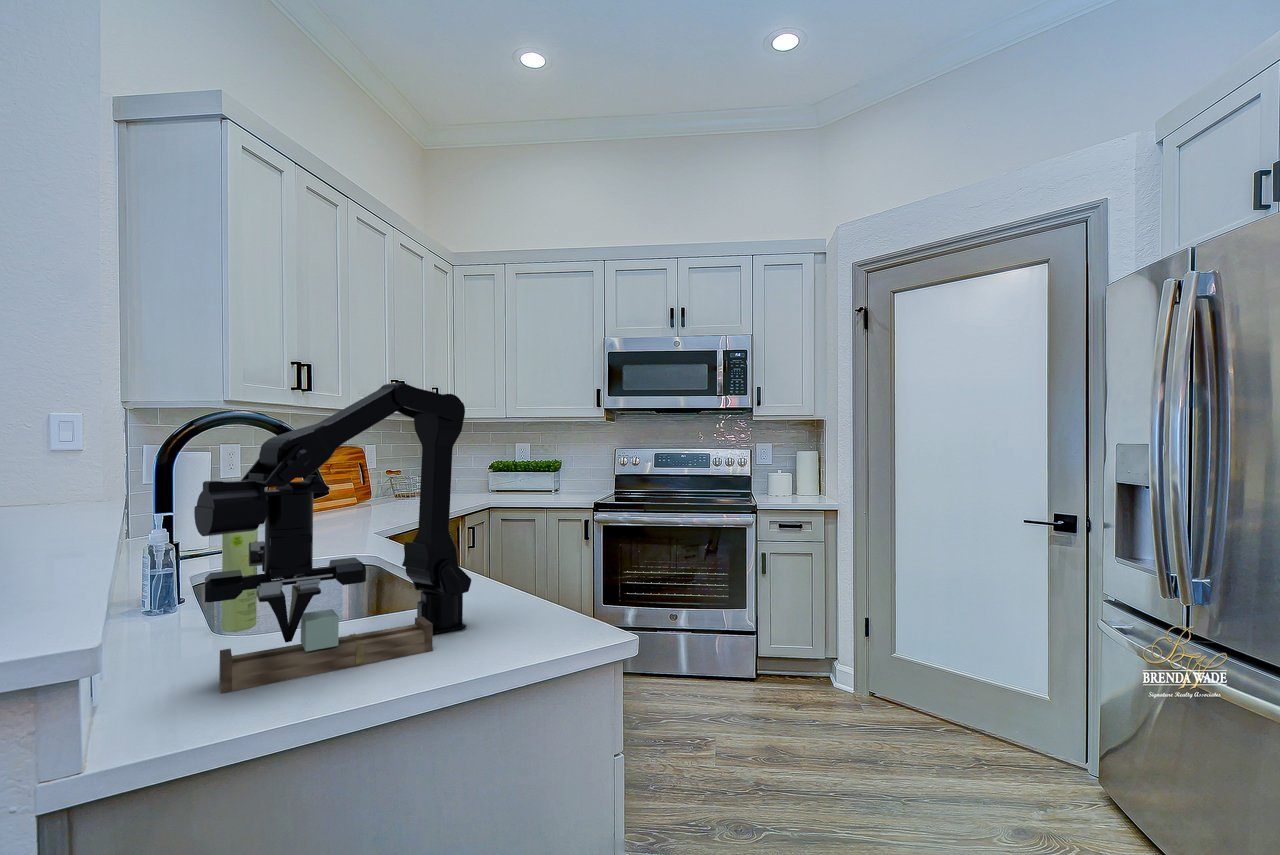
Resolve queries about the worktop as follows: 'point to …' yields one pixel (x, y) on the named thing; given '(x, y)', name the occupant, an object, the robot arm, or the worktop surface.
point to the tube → (236, 557)
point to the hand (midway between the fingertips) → (288, 641)
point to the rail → (322, 656)
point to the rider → (319, 629)
